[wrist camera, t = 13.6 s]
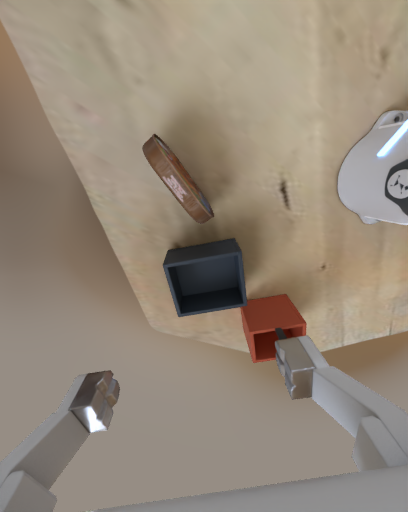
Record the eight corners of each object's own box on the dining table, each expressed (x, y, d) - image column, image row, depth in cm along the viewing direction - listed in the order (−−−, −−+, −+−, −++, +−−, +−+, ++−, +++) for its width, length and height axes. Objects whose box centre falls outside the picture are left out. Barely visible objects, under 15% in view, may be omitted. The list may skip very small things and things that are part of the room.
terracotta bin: (286, 293, 46) (315, 335, 35) (286, 322, 50) (312, 368, 39) (239, 301, 47) (253, 344, 35) (243, 329, 51) (257, 376, 39)
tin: (213, 209, 38) (218, 220, 30) (200, 219, 38) (201, 232, 31) (161, 136, 32) (150, 126, 25) (147, 149, 33) (132, 143, 25)
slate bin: (234, 238, 40) (241, 250, 34) (240, 286, 45) (247, 305, 39) (167, 250, 41) (162, 265, 35) (180, 297, 46) (178, 317, 40)
